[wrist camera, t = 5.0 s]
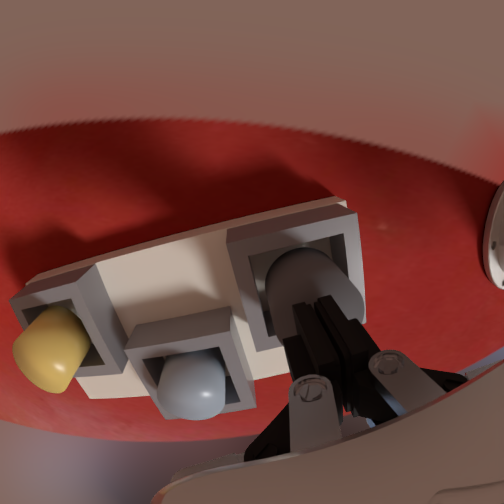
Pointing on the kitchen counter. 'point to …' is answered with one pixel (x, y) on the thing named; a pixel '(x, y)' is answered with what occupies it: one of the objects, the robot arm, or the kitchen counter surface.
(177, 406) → the slate button
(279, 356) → the console
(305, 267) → the charcoal button
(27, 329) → the mustard button
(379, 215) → the kitchen counter surface
